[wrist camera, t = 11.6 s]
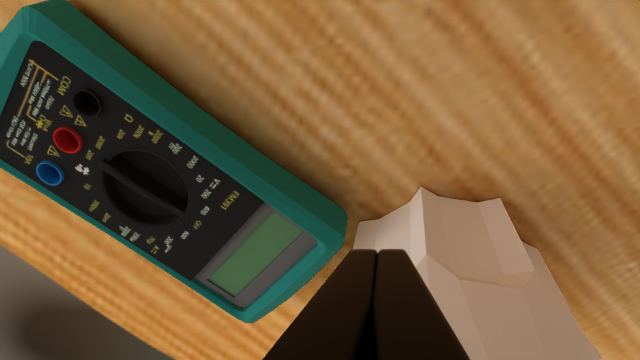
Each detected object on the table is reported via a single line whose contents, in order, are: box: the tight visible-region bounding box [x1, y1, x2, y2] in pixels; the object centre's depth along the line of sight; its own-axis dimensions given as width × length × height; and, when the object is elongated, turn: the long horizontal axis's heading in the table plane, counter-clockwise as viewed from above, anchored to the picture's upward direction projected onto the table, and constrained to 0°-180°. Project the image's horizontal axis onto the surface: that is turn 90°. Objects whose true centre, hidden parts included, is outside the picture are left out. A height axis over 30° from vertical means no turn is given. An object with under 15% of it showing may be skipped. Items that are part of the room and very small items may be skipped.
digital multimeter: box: [0, 0, 348, 323], centre depth 19 cm, size 7×15×3 cm, turn 51°
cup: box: [353, 187, 603, 360], centre depth 17 cm, size 10×10×10 cm
